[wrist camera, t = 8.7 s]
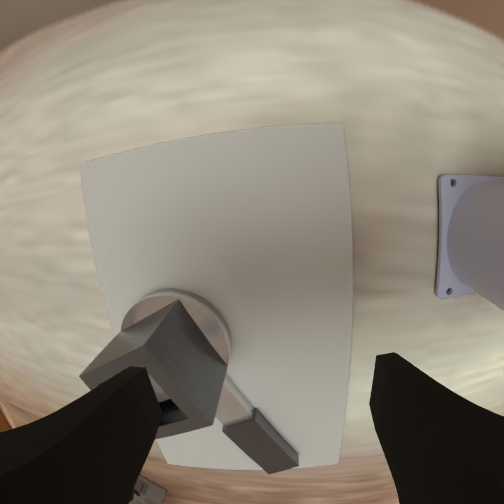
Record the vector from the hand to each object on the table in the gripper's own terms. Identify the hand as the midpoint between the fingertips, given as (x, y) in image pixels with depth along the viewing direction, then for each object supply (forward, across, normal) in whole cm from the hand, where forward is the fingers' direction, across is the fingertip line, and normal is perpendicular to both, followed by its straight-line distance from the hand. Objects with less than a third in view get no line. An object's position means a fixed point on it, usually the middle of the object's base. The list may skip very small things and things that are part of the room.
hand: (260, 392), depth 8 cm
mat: (+9, +3, +4) cm, 11 cm away
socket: (+7, +6, +3) cm, 10 cm away
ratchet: (+9, +4, +8) cm, 13 cm away
